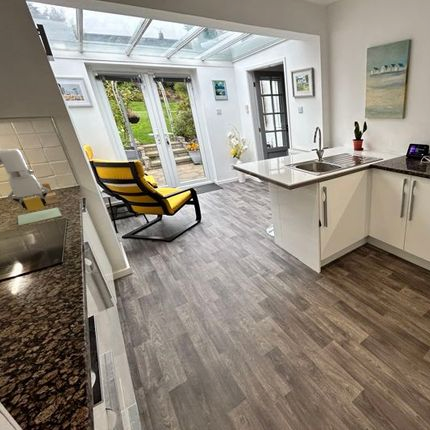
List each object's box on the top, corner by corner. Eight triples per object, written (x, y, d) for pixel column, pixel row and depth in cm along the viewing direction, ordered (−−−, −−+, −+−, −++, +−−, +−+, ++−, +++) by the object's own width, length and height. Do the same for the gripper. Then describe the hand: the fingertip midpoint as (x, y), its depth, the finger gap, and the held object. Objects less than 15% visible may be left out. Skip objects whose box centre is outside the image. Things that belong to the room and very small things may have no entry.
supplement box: (48, 198, 171) (41, 184, 167) (47, 197, 173) (41, 183, 169) (55, 197, 173) (48, 182, 169) (54, 196, 175) (48, 182, 171)
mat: (18, 216, 142) (17, 215, 142) (57, 208, 153) (57, 207, 153) (18, 225, 130) (18, 225, 130) (62, 216, 141) (61, 215, 140)
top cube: (28, 209, 140) (23, 198, 137) (43, 205, 144) (39, 195, 141) (28, 211, 136) (23, 200, 134) (44, 208, 140) (39, 197, 138)
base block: (42, 202, 163) (39, 195, 161) (57, 199, 168) (54, 192, 166) (43, 205, 159) (39, 197, 157) (59, 202, 164) (55, 194, 162)
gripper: (42, 169, 141) (57, 201, 148) (-6, 176, 129) (12, 210, 136) (43, 171, 136) (58, 204, 143) (-7, 178, 124) (12, 213, 131)
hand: (35, 206), depth 139 cm, fingers closed on top cube, 6 cm apart
